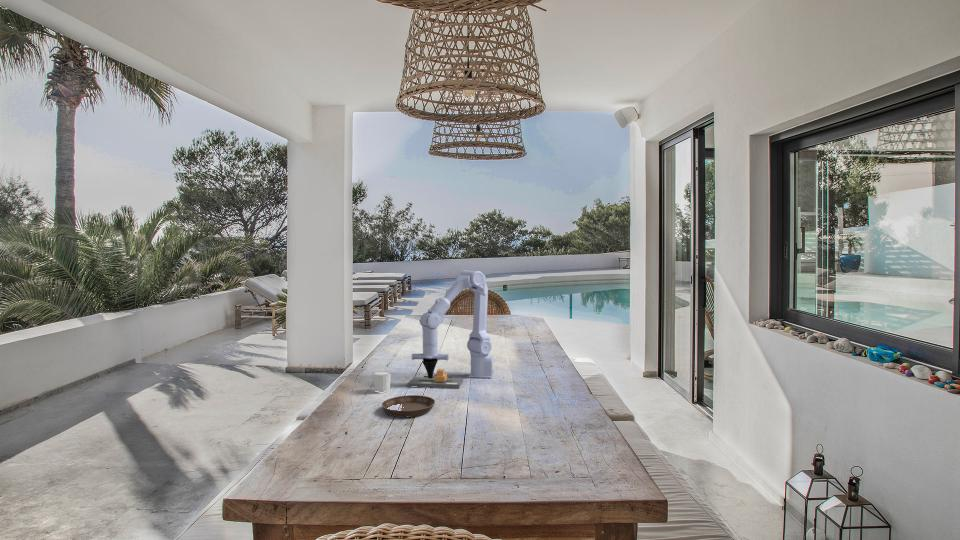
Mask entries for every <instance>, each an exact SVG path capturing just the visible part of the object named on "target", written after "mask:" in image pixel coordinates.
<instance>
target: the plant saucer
mask: <svg viewBox="0 0 960 540" xmlns="http://www.w3.org/2000/svg"><path fill="white" fill-rule="evenodd" d="M435 403H436V400H435V399H434V398H432V397H430V396H426V395H417V394H414V395H413V394H412V395H401V396H395V397H391V398H388V399H386V400H384V401H383V402H382V403H381V407H382V409H383V410H384V411H385V412H386V413H387V414H388V413H389V414H388V415H390V414H391V416H393V415H395V416H394V417H398V416H403V417H402V418H408V417H407V416H414V417H419V416H422V414H423V415H425V413H426V414H427V413H429V412H430V411H431V410H432V409H433V407H434V406H435ZM397 404H400V405H401V404H402V408H401V409H402V410H401V411H397V410H390V409H387V408H388V407H390V406H392V405H397ZM403 407H404V408H403ZM418 415H419V416H418Z"/></svg>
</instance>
